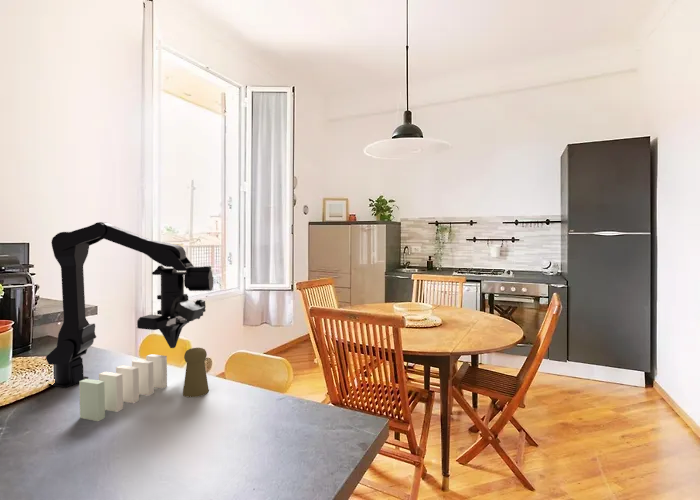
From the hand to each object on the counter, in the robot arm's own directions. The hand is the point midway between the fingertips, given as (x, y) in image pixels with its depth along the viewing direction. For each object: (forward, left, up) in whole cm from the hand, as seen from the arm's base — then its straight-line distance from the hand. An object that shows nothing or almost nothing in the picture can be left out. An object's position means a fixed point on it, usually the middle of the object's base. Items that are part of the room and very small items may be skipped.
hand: (172, 347), depth 106 cm
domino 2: (0, -15, -8) cm, 17 cm away
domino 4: (0, -6, -8) cm, 10 cm away
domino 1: (0, -19, -8) cm, 21 cm away
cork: (+12, -6, -9) cm, 16 cm away
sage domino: (0, -24, -8) cm, 25 cm away
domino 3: (0, -10, -8) cm, 13 cm away
